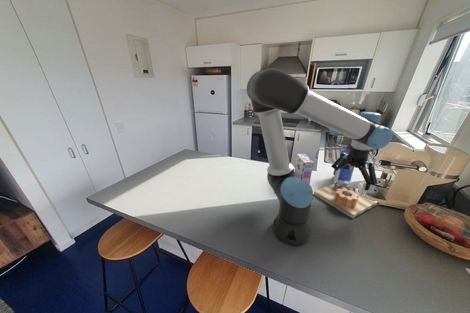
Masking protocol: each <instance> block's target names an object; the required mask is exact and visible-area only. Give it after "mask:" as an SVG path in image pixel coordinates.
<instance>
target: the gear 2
mask: <svg viewBox="0 0 470 313" xmlns="http://www.w3.org/2000/svg"><path fill="white" fill-rule="evenodd" d="M345 191H349V192H350V196H346V195H344V193H345ZM358 198H359V196H358V194H355V192H354V191H352V190H347V189H346V188H343V189H337V190H336V192H335V196H334V201H337V204H338V205H340V206H341V205H342V206H345V207H346V208H350V207H353V208H354V207H356V204H357V201H358Z"/></svg>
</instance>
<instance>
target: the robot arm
mask: <svg viewBox="0 0 470 313" xmlns="http://www.w3.org/2000/svg"><path fill="white" fill-rule="evenodd" d="M247 81H248V82H247V84H246V94H247V96H248V98H249V100H250V102H251V107H252V110H253V113H254V114H256V115H257V116H258V119H259V123H260V128H261V132H262V138H263V141H264V148H265V151H266V155H267V160H268V165H269V166H268V167H267V169H266V171H267V174H266V178H267V181H268V184H269V187H271V189H272V191H273V193H274V194H275V196H276V198H277V199H278V203H279V204H278V205H279V206H278V213H277V215H276V217H275V219H273V223H272V233H273V234H274V236H275V237H276V238H277V239H278V240H279V241H281V243H283V244H285V245H289V246H294V247H298V246H299V247H300V246H303V245H305V244H306V243H307V242H308V241H309V240H310V237H311V236H310V235H311V229H310V226H309V215H310V211H311V207H312V202H313V200H314V198H313V197H314V190H313V187H312V186H311V184H309V183H308V182H306V181H305V180H301V179H300V178H297V177H295V173H294V172H295V166H294V165H293V164H292V163H291V162H290V161H289V160H290V159H289V152H288V148H287V142H286V137H285V136H286V135H285V130H284V124H283V120H282V112H285V113H286V114H290V115H294V114H298V115H299V116H301V117H303V118H306V119H308V120H310V121H313V122H315V123H317V124H319V125H321V126H323V127H326V128H328V129H329V133H330V134H331V135H332V136H336V137H341V136H343V137H345V138H347V139H350V140H351V142H352V143H351V147H350V150H349V154H347V153H346V152H345V153H342V154H341V156H340V155H339V157H338V158H337V159H336V160H335V161H334V162H333V164H331V168H332V169H333V173H332V175H333V179H332V182H333V183H335V182H336V181H338V177H339V174H340V170H338V169H340V168H342V167H344V166H346V165H348V164H350V165H351V166H354V168H356V169H358V170H359V171H360V173H361V175H362V177H363V179H364V181H365V182H364V183H363V185H362V188H361V189H360V190H361V193H360V196H363V195H365V193H367V191H370V189H371V186H375V185H377V184H378V180H377V175H376V171H375V165H376V164H375V162H374V161H368V158H369V156H370V152H371V149H375V150H376V149H377V150H379V149H384V148H385V147H387V146H388V145H389V143H390V142H391V141H392V139H393V131H392V129H390V128H389V127H386V126H384V125H380V124H381V120H382V114H381V113H378V112H372V111H361V112H360V113H359V114H357V113H355V112H354V111H351V110H349V109H347V108H345V107H343V106H342V105H339V104H338V103H335V102H333V101H331V100H329V99H328V98H326V97H324V96H322V95H319V94H317V93H316V92H314V91H312V90H310V88H309V85H308V84H306V83H305V82H303V81H301V80H300V79H297V78H296V77H294V76H292V75H291V74H289V73H287V72H285V71H284V70H281V69H278V68H267V69H264V70H262V69H261V70H259V71H256V72H255V73H253V74H252V75H251V76H250V78H249V79H248V80H247ZM281 111H282V112H281ZM346 157H347V159H348V161H346V162H344V163H343V164H341V165H339V166H338V164H339V163H340V162H341V161H342V160H343V159H344V158H346Z"/></svg>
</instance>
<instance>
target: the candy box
mask: <svg viewBox="0 0 470 313" xmlns="http://www.w3.org/2000/svg"><path fill="white" fill-rule="evenodd" d="M294 164H295V166H294V173H295V177H297V178H300V179H301V180H305V181H306V182H308V183H309V184H310V183H311V178H312V172H313V166H314V161H313V160H312V159H310V157H308V155H307V154H306V153H296V157H295V163H294ZM310 185H311V184H310Z"/></svg>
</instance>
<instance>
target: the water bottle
mask: <svg viewBox="0 0 470 313" xmlns="http://www.w3.org/2000/svg"><path fill="white" fill-rule="evenodd" d="M351 143H352V141H351V142H348V143H347V145H346V148H344V149H341V150H340V152H339V153H340V154H339V157H340V156H341V154H342V153H345V152H346V153H347V154H349V150H350V147H351ZM346 161H348V159H347V157H346V158H344V159H343V160H342V161H341V162H340V163H339V164H338V165H337V166H339V165H341V164H343V163H344V162H346ZM338 170H340V174H339V177H338V180H342V181H349V182H350V183H351V181H352V176H353V174H354V173H353V172H354V170H355V167H354V166H351V165H350V164H348V165H346V166H344V167H342V168H340V169H338Z"/></svg>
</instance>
